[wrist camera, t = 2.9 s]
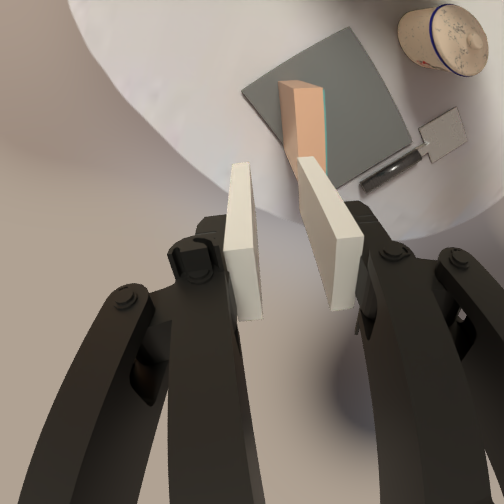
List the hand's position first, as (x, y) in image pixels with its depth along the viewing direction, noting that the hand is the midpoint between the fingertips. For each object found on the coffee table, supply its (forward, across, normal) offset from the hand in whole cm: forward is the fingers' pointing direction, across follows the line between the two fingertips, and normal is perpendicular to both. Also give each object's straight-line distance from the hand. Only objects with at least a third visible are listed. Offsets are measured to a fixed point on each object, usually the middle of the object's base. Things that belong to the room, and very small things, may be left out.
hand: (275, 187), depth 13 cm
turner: (+24, +23, -6) cm, 34 cm away
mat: (+24, +10, -1) cm, 26 cm away
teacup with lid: (+25, +25, +11) cm, 37 cm away
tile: (+24, +4, -1) cm, 24 cm away
